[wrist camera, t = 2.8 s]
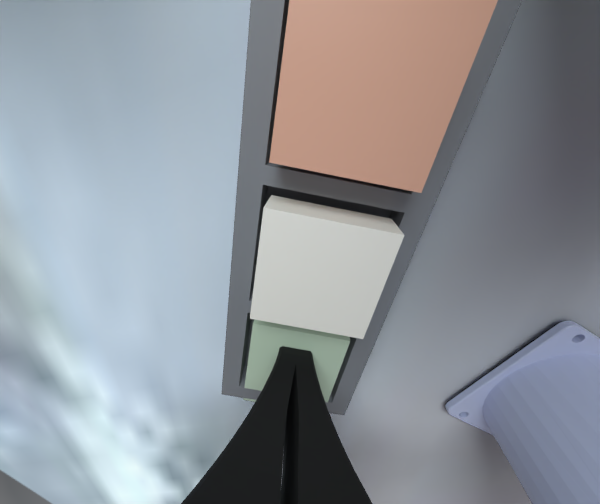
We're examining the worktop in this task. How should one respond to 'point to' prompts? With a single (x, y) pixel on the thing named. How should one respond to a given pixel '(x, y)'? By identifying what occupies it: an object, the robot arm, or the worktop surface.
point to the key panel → (327, 190)
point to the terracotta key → (373, 85)
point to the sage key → (321, 344)
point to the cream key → (321, 266)
